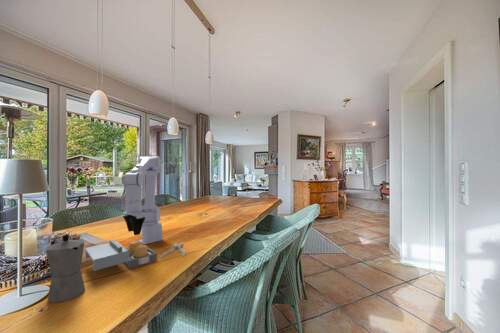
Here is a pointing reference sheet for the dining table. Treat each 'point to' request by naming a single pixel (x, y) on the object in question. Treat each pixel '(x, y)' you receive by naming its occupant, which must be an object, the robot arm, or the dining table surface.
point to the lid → (107, 255)
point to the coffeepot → (65, 269)
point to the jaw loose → (133, 246)
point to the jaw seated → (140, 251)
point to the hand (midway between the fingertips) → (134, 232)
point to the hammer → (174, 249)
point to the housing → (141, 259)
